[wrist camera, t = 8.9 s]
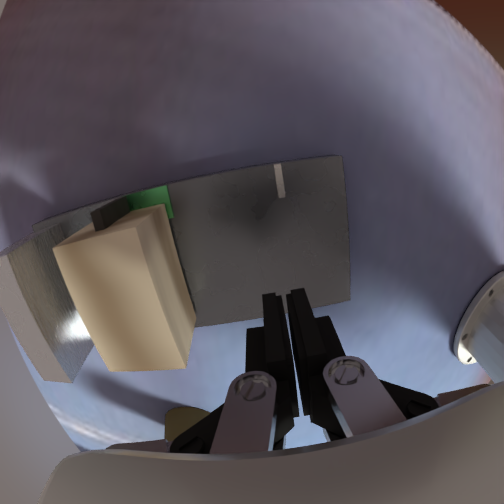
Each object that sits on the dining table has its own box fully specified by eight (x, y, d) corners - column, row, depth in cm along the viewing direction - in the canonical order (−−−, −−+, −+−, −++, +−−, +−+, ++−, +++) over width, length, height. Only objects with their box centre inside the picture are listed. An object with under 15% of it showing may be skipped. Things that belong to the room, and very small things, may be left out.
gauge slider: (160, 186, 15) (129, 204, 11) (196, 317, 19) (186, 368, 14) (90, 205, 16) (46, 229, 11) (132, 325, 19) (110, 371, 14)
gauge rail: (333, 154, 17) (391, 163, 10) (343, 290, 21) (384, 353, 14) (42, 220, 17) (-21, 255, 10) (84, 327, 21) (47, 385, 14)
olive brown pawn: (156, 407, 25) (137, 496, 15) (210, 404, 25) (204, 502, 15) (176, 436, 27) (166, 514, 17) (225, 433, 27) (225, 517, 17)
